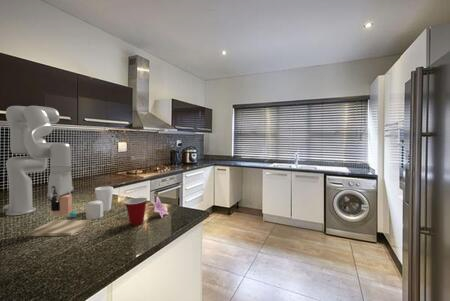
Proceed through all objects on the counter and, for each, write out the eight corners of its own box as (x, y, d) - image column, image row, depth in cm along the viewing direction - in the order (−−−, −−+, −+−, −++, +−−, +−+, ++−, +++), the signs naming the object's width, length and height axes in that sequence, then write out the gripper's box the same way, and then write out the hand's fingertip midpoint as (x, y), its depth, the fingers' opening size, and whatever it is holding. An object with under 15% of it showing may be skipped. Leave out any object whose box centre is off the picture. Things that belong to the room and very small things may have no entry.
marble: (68, 218, 114) (67, 212, 114) (71, 216, 117) (71, 210, 117) (74, 218, 114) (74, 212, 114) (78, 216, 117) (78, 210, 117)
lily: (150, 223, 111) (159, 207, 111) (139, 210, 118) (148, 195, 118) (167, 223, 121) (176, 208, 121) (156, 211, 128) (164, 197, 128)
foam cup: (105, 212, 124) (105, 190, 123) (91, 211, 125) (91, 189, 125) (116, 207, 133) (116, 186, 132) (103, 206, 135) (103, 186, 134)
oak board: (26, 236, 92) (26, 233, 92) (53, 222, 108) (53, 220, 108) (71, 235, 94) (71, 232, 93) (91, 221, 109) (91, 219, 109)
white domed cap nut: (83, 219, 112) (83, 204, 112) (91, 214, 120) (91, 200, 119) (98, 219, 113) (98, 204, 113) (105, 214, 120) (104, 200, 120)
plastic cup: (128, 219, 113) (128, 196, 113) (150, 219, 114) (150, 196, 114) (120, 227, 102) (120, 202, 102) (144, 227, 103) (144, 202, 103)
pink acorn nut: (47, 215, 97) (47, 197, 96) (59, 210, 104) (58, 194, 104) (65, 215, 97) (64, 197, 97) (75, 210, 104) (74, 193, 104)
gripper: (65, 167, 108) (65, 203, 109) (37, 172, 91) (38, 214, 91) (80, 167, 109) (81, 202, 109) (56, 172, 91) (57, 213, 92)
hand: (61, 207), depth 100 cm, fingers closed on pink acorn nut, 7 cm apart
